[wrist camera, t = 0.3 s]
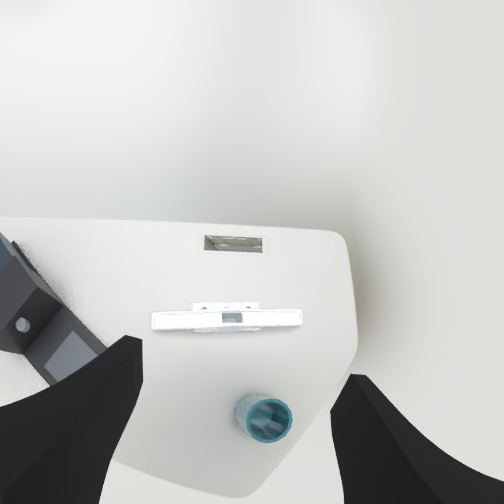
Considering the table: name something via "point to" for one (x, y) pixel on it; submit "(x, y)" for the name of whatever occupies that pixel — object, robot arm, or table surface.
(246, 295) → the table surface
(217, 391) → the table surface
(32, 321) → the coffee maker
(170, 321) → the t-shaped cleat
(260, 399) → the cup
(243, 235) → the table surface
